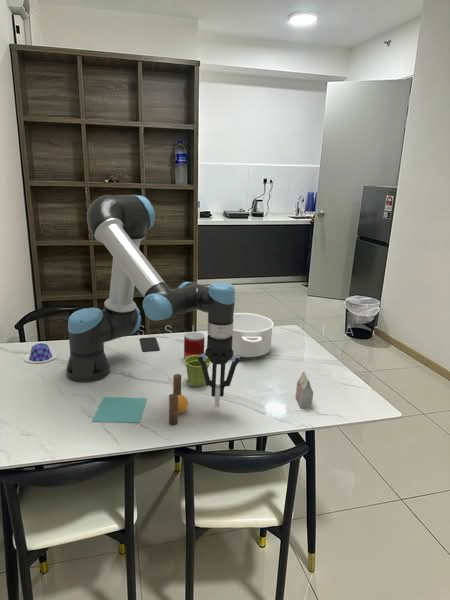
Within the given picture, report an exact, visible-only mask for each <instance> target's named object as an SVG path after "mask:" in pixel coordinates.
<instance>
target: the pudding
mask: <svg viewBox="0 0 450 600" xmlns="http://www.w3.org/2000/svg"><path fill="white" fill-rule="evenodd" d="M57 356H58V353H57V351H54V350H50V347H49V345H48V343H43V342H42V343H36V344H33V345H32V347H31V348H30V352H29V353H27V354H26V355H24V357H23V360H24V361H25V362H27V363H30V364H41V363H46V362H50V361H52V360H54V359H55V358H57Z"/></svg>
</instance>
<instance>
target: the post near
mask: <svg viewBox="0 0 450 600" xmlns="http://www.w3.org/2000/svg"><path fill="white" fill-rule="evenodd" d="M178 423H179V413H178V395H177V394H173V393H170V394H169V395H168V424H169V425H171V426H176V425H178Z"/></svg>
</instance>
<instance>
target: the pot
mask: <svg viewBox="0 0 450 600" xmlns="http://www.w3.org/2000/svg"><path fill="white" fill-rule="evenodd" d="M274 325H275V324H274V321H273V320H272V319H270V318H268V317H266V316H264V315H260V314H257V313H251V312H234V315H233V334H232V337H233V339H232V350H233V353H234V354H235V355H239V356H240V360H256V359H260V358H264V357H265V356H266V355H267V354H268V353H269V352H270V351H271V347H272V336H273V328H274Z"/></svg>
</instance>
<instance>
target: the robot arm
mask: <svg viewBox="0 0 450 600" xmlns="http://www.w3.org/2000/svg"><path fill="white" fill-rule="evenodd" d="M155 214H156V213H155V209H154V207H153V205H152V203H151V202H150V201H149V199H148V198H147V197H145V196H143V195H139V194H138V195H137V194H118V195H117V194H116V195H114V194H113V195H111V194H106V195H102V196H98V198H96V199H94V200H93V201H92V202H91V204H90V205H89V207H88V210H87V213H86V222H87V226H88V229H89V231H90V233H91V234H92V236H93V238H94V239H95V240H96V242H99V243H102V244H103V245H104V247H105V248H106V249H107V250H108V252H109V253H110V255H111V256H112V263H111V265H112V266H111V275H110V285H109V287H110V288H109V295H108V296H109V297H108V298H107V299H106V300H105V301H104V304H103V309H102V310H101V309H100V308H98V307H89V308H87V307H85V308H81V309H78V310H76V311H74V312H73V313H71V314H70V315H69V317H68V320H67V322H68V323H67V331H68V342H69V354H70V355H69V358H68V360H67V361H68V362H67V365H66V367H65V368H66V369H65V372H66V374H65V376H66V378H67V379H69V380H70V381H73V382H76V383H92V382H96V381H99V380H102V379H104V378H106V377H107V376H108V375H109V374H110V371H111V369H110V362H109V361H108V357H107V356H106V353H105V346H104V344H105V343H107V342H110V341H113V340H117V339H120V338H125V337H128V336H130V335H132V334H134V333H136V332H137V331H138V330H139V329H140V326H141V322H142V315H141V314H140V313H141V311H140V309H139V307H138V306H137V304H136V302H135V301H134V292H135V288H136V289H137V290H138V292H139V293H140V295H141V296H142V297H143V298H144V299H143V300H142V309H143V310H144V315H145V317H147V318H148V319H149V320H151V321H162V320H168V319H169V318H171V317H175V316H177V315H180V314H181V315H182V314H186V313H189V312H192V311H201V312H204V313H207V336H206V339H207V340H206V349H205V350H204V353H203V354H199V355H198V360H199V362H200V363H201V365H202V370H203V374H204V378H205V385H206V387H211V393H210V394H211V397H214V408H220V404H221V403H220V402H221V398H223V397H224V395H225V393H224V392H225V388H226V387H230V386H231V383H232V380H233V377H234V374H235V371H236V368H237V366H238V364H239V363H240V362H241V359H240V356H239V355H235V354H234V353H233V350H232V339H233V337H232V334H233V315H234V313H235V303H236V297H235V296H236V295H235V294H236V291H235V287H234V285H233V284H232V283H229V282H222V281H221V282H219V281H218V282H213V283H211V284H210V285H209V286H206V285H203V284H200V283H198V282H194V281H193V282H192V281H183V282H182V283H181V284H180V285H179V286H178V287H177V288H173V289H171V288H170V287H169V285H167V283H166V282H165V280H164V279H163V278H162V276H160V274H159V273H158V272H157V271H156V269H155V267H154V266H153V265H152V263H150V262H149V260H148V259H147V258H146V256H145V255H144V254H143V252H142V251H141V250H140V246H141V242H142V241H143V240H144V239H145V238H146V233H147V231H148V230H150V229H151V228H152V227H153V226H154V224H155V222H156V221H155V220H156V215H155ZM206 357H208V359H209V360H210V362H211V363H210V364H212V370H211V377H210V374H209V368H208V369H207V365H206ZM230 360H231V364H230V367H229V370H228V373H227V377H226V378H225V373H226V364H227V363H228V362H229V361H230ZM217 365H220V376H219V377H220V379H219V383H218V384H217V368H218V367H217ZM210 378H211V379H210Z"/></svg>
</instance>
